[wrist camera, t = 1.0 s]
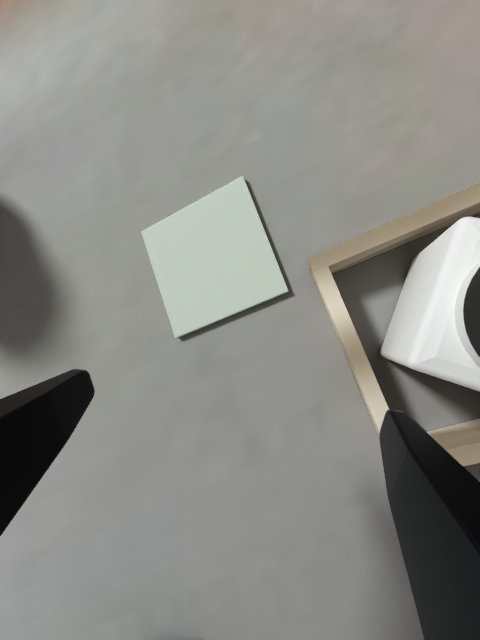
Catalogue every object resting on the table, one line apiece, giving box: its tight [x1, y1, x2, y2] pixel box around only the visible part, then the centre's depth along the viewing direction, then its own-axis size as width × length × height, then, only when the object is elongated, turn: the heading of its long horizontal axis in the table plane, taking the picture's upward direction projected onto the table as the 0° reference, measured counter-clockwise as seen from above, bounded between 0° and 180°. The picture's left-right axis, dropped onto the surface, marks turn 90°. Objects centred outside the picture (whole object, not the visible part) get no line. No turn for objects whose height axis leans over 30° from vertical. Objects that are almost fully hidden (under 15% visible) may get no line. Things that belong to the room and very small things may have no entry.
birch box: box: [307, 183, 480, 466], centre depth 17 cm, size 14×14×3 cm
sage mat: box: [141, 176, 289, 338], centre depth 23 cm, size 10×10×1 cm
